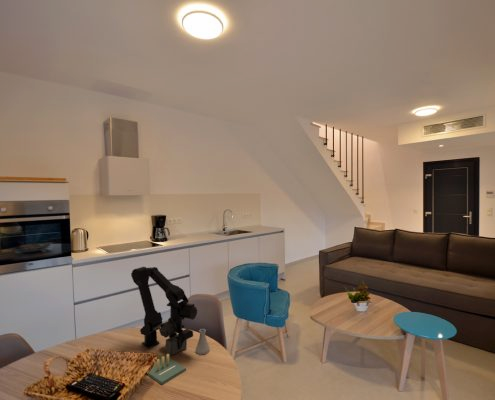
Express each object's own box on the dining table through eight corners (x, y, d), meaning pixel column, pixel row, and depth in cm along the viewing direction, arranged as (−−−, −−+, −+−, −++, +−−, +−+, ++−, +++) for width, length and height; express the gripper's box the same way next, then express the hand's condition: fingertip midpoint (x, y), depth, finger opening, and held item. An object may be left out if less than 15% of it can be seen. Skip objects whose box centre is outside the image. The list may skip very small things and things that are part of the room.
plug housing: (165, 352, 131) (165, 339, 131) (181, 344, 138) (181, 332, 138) (171, 355, 129) (171, 342, 129) (186, 347, 136) (186, 335, 136)
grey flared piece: (207, 355, 129) (207, 334, 129) (192, 354, 131) (192, 333, 131) (212, 347, 136) (212, 327, 136) (198, 346, 138) (198, 326, 138)
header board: (140, 369, 119) (140, 356, 119) (164, 357, 128) (164, 345, 128) (161, 384, 109) (161, 370, 109) (186, 370, 118) (186, 357, 118)
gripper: (150, 316, 133) (150, 348, 133) (174, 326, 122) (174, 362, 121) (170, 309, 142) (170, 339, 142) (193, 318, 130) (193, 351, 130)
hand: (176, 347), depth 133 cm, fingers closed on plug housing, 4 cm apart
